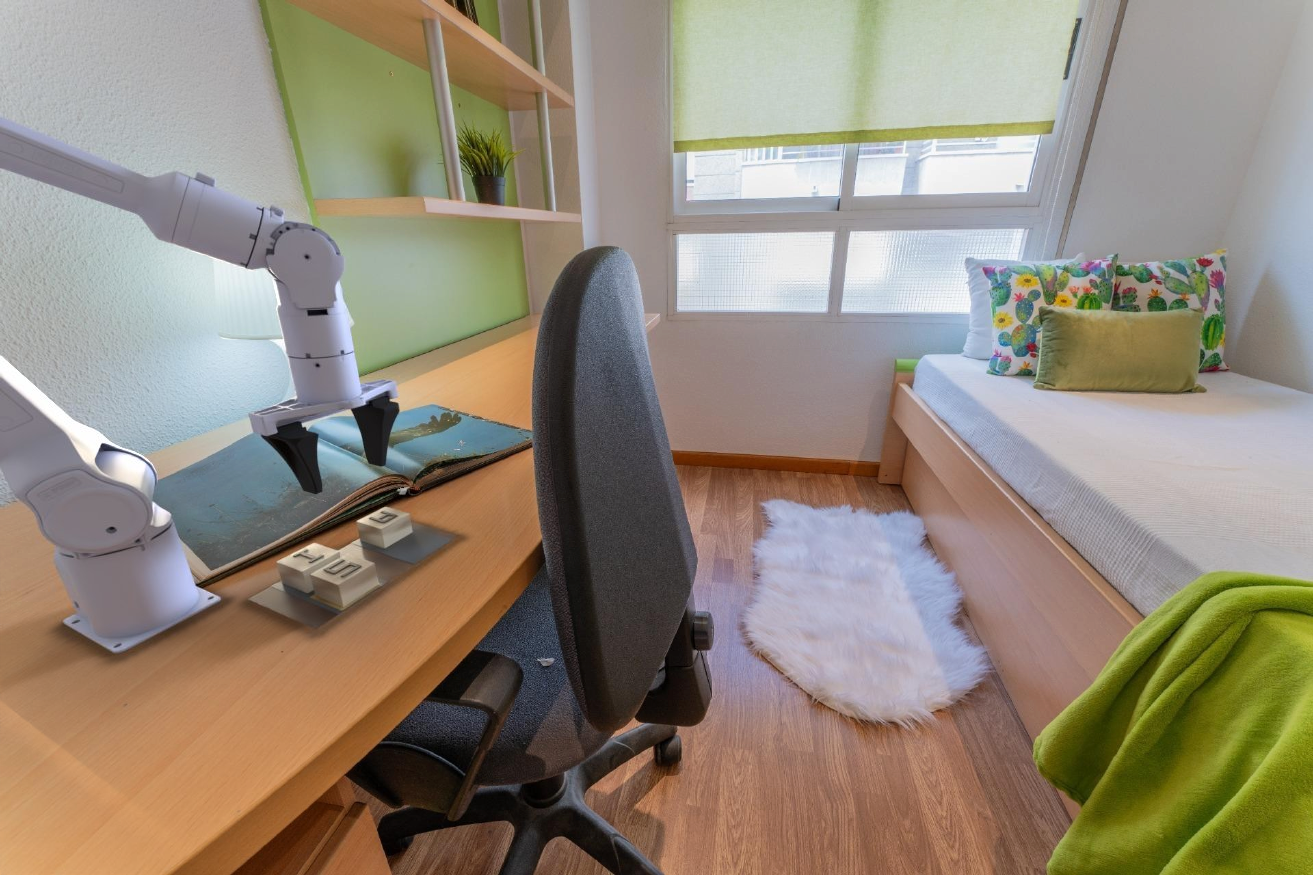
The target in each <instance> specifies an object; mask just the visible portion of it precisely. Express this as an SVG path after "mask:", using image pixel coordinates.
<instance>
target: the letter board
mask: <svg viewBox="0 0 1313 875" xmlns="http://www.w3.org/2000/svg"><path fill="white" fill-rule="evenodd" d="M411 526H412V533H411V534H409V535H407V536H405V537H404V538H402V539H400V540H399V541H397V542H395V543H393V544H392V545H390V546H388V547H387V548H385V549H384V548H381V547H378V546H375V545H372V544H369V543H366V542H363V541H360V537H359V538H357V539H355V540H354V541H352V542H350V544H347V545H345V546H344V547H342V548H340V549H338V550H337V551H340V555H341V557H342V556H344V555H346V554H350V555H353V556H356V557H358V558H361V559H364V560H367V561H370V562H373V563H375V568H376V573H377V578H378V583H379V585H377V586H376V587H374V588H372V589H371V590H369V591H368V592H366V593H365V594H363V595H362V596H360V597H359V598H357V599H355V600H354V601H352V602H351V603H349V604H348V605H346V606H345V607H341V606H339V605H336V604H334V603H331V602H329V601H326V600H324V599H321V598H319V597H316V596H315V592H314V590H313V591H311V592H310V593H305V592H303V591H300V590H298V589H295V588H293V587H291V586H288V585H286V584H283V583H282V581H281V580H279V581H277V582H276V583H274V584H272V585H270V587H268V588H266V589H264V590H262V591H260V592H258V593H256V594H255V595H253V596H251V597H249V598H248V599H247V600H248V601H251V602H253V603H255V604H257V605H260V606H262V607H264V608H267V609H269V610H271V611H273V612H275V613H278V614H280V615H281V616H285V617H287V618H289V619H291V620H293V621H296V622H298V623H301V624H303V625H305V626H308V627H310V628H311V629H314V630H317V629H319V628H320V627H322V626H323V625H325V624H327V623H328V622H329V621H331V620H333V619H335V618H336V617H337V616H339V615H340V614H342V613H344V612H345V611H347V610H348V609H350V608H351V607H353V606H354V605H356V604H357V603H359V602H361V601H362V600H363V599H365V598H367V597H368V596H370V595H371V594H373V593H374V592H376V591H378V590H379V589H380V588H382V587H383V586H385V585H387V584H388V583H389V582H391V581H392V580H394V579H395V578H397V577H399V576H400V575H401V574H403V573H404V572H406V571H408V570H409V569H411V568H412V567H414V566H415V565H417V564H418V563H420V562H421V561H423V560H425V559H426V558H428V557H429V556H431V555H433V553H435V552H437V551H438V550H439V549H441V548H443V547H445V546H446V545H447V544H449V543H451V542H452V541H454V540H455V539H456V538H458V537H460V534H457V533H453V532H449V531H446V530H443V529H439V528H436V527H433V526H430V525H426V524H422V523H419V522H417V521H412V520H411Z"/></svg>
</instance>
